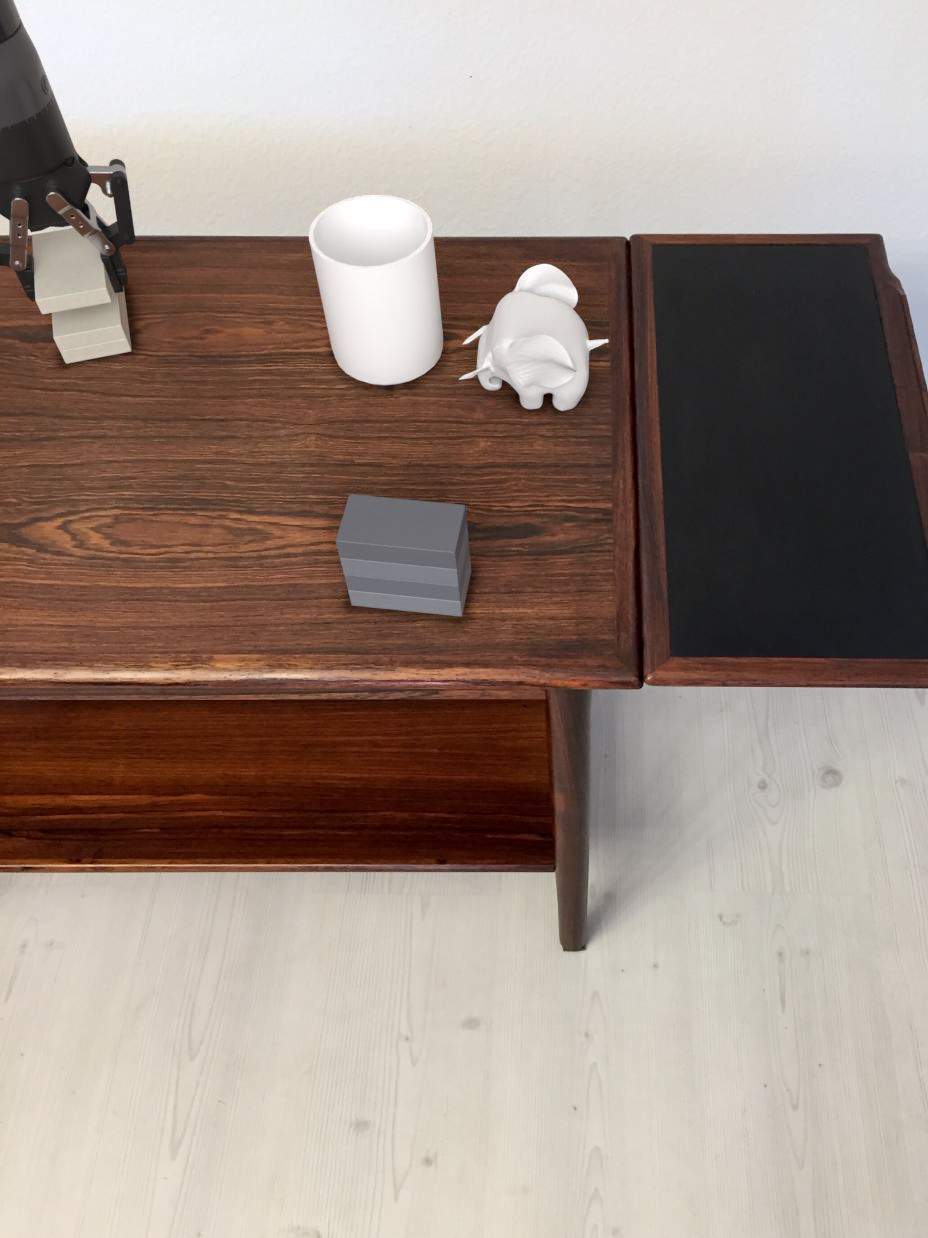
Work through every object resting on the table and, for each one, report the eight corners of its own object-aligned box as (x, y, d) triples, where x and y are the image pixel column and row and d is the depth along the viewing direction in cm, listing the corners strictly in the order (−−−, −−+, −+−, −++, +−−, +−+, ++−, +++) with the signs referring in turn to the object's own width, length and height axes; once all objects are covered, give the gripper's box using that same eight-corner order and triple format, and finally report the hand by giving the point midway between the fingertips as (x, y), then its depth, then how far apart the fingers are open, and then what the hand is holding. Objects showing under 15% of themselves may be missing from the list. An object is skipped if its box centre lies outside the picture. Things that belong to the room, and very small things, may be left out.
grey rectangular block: (351, 605, 76) (334, 540, 70) (364, 560, 78) (349, 493, 72) (462, 617, 75) (454, 552, 69) (471, 570, 77) (465, 504, 71)
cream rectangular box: (132, 351, 90) (121, 325, 88) (65, 364, 90) (53, 337, 87) (124, 287, 95) (113, 260, 93) (60, 298, 94) (48, 271, 92)
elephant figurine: (466, 346, 91) (459, 257, 84) (605, 349, 91) (611, 260, 83) (457, 425, 86) (449, 337, 78) (605, 429, 85) (611, 340, 78)
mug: (327, 389, 88) (300, 269, 78) (343, 297, 95) (320, 175, 85) (441, 389, 88) (428, 269, 78) (448, 297, 95) (437, 175, 85)
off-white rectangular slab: (38, 248, 90) (31, 234, 89) (104, 237, 91) (99, 223, 90) (42, 314, 85) (35, 300, 84) (112, 302, 86) (106, 287, 85)
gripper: (96, 54, 79) (163, 252, 93) (-109, 83, 76) (-7, 282, 90) (103, 106, 75) (172, 305, 89) (-113, 138, 72) (-6, 337, 86)
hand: (81, 292), depth 90 cm, fingers closed on off-white rectangular slab, 5 cm apart
